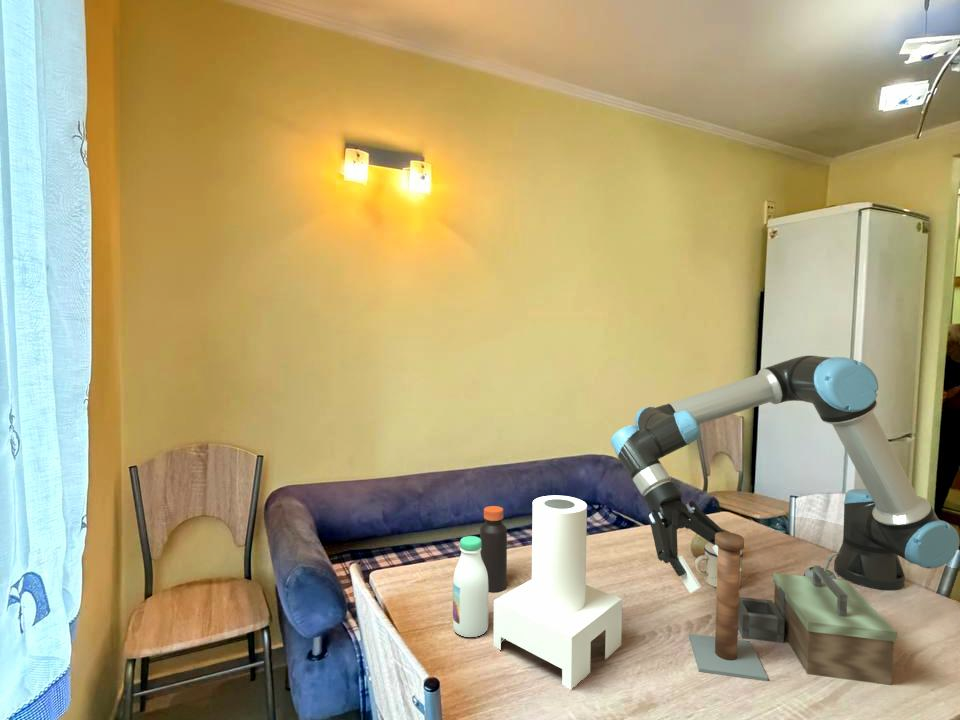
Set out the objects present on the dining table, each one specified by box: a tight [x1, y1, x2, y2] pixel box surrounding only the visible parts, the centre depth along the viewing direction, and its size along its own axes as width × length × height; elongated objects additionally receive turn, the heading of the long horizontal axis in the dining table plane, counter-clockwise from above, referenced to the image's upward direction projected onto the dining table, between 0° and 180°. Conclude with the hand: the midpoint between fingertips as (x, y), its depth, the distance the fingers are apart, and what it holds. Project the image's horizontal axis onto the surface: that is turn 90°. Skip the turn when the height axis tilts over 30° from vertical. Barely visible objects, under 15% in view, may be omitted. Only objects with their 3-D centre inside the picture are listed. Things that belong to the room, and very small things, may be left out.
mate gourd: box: [803, 552, 840, 579], centre depth 126 cm, size 8×8×15 cm
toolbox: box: [738, 564, 898, 686], centre depth 109 cm, size 23×21×14 cm
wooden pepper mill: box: [714, 531, 745, 661], centre depth 105 cm, size 5×5×24 cm
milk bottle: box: [452, 535, 489, 638], centre depth 115 cm, size 8×8×20 cm
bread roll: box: [690, 527, 730, 558], centre depth 153 cm, size 10×15×8 cm, turn 101°
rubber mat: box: [688, 633, 769, 682], centre depth 106 cm, size 12×12×1 cm
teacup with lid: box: [694, 542, 744, 589], centre depth 136 cm, size 12×9×12 cm
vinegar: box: [479, 505, 508, 593], centre depth 134 cm, size 7×7×20 cm
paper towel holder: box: [493, 494, 623, 691], centre depth 108 cm, size 19×19×30 cm
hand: (716, 581), depth 107 cm, fingers open, 13 cm apart
